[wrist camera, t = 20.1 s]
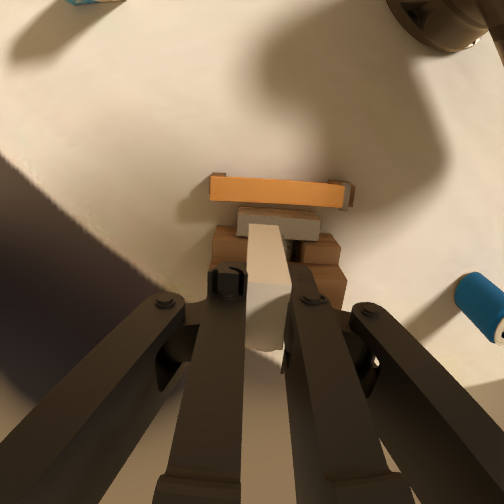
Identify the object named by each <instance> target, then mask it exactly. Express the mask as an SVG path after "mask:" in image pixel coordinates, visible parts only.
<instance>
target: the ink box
mask: <svg viewBox="0 0 504 504" xmlns="http://www.w3.org/2000/svg"><path fill="white" fill-rule="evenodd" d="M66 1H67V2H69V3H71V4H73V5H80V4H87V3H96V2H107V1H119V0H66Z"/></svg>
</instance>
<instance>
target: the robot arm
mask: <svg viewBox="0 0 504 504" xmlns="http://www.w3.org/2000/svg"><path fill="white" fill-rule="evenodd" d="M387 3H388V5H389V7H390V9H391V11H392V13H393V14H394V16H395V17H396V19H397V20H398V21H399V23H400V24H401V25H402V26H403V27H404V28H405V29H406V30H407V31H408V32H409V33H410V34H411V35H412V36H413V37H415V38H416V39H417V40H419V41H420V42H421V43H423V44H425V45H427V46H428V47H431V48H433V49H435V50H438V51H442V52H458V51H461V50H465V49H468V48H470V47H472V46H474V45H475V44H476V43H477V42H478V41H479V40H480V38H481V36H482V35H484V34H485V33H486V32H487V31H488V30H489V32H490V34H491V36H492V39H493V41H494V44H495V46H496V49H497V51H498V53H499V56H500V58H501V61H502V64H503V66H504V0H387ZM283 343H284V344H285V349H284V355H283V361H282V367H281V374H283V373H285V382H286V392H287V402H288V412H289V422H290V434H291V444H292V455H293V466H294V477H295V489H296V501H297V504H415V501H414V498H413V495H412V492H411V488H412V490H413V491H414V493H415V494H416V496H417V498H418V499H419V501H420V502H421V504H504V432H503V430H502V429H501V428H500V427H499V426H498V425H497V424H496V423H495V421H494V420H493V419H492V418H491V417H490V416H489V415H488V414H487V413H486V412H485V411H484V410H483V408H482V407H481V406H480V405H479V404H478V403H477V402H476V401H475V400H474V399H473V398H472V396H471V395H470V394H469V393H468V392H467V391H466V390H465V389H464V388H463V387H462V386H461V385H460V384H459V383H458V382H457V381H456V380H455V379H454V377H453V376H452V375H451V374H450V373H449V372H448V371H447V370H446V369H445V368H444V367H443V366H442V365H441V364H440V363H439V362H438V361H437V360H436V359H435V358H434V357H433V356H432V355H431V354H430V353H429V352H428V351H427V350H426V349H425V348H424V347H423V346H422V345H421V344H420V343H419V342H418V341H417V340H416V339H415V338H414V337H413V336H412V335H411V334H410V333H409V332H408V331H407V330H406V329H405V328H404V327H403V326H402V325H401V324H400V323H399V322H398V321H397V320H396V319H395V318H394V317H393V316H392V315H391V314H390V313H389V312H388V311H387V310H385V309H384V308H383V307H381V306H379V305H377V304H375V303H371V302H360V303H357V304H355V305H354V306H353V307H352V311H351V312H346V311H341V310H338V309H335V308H332V305H331V303H330V300H329V299H328V298H327V297H326V296H324V295H323V294H321V293H319V290H318V287H317V285H316V282H315V279H314V277H313V274H312V271H311V270H310V269H309V268H308V267H306V266H305V265H295V264H287V261H286V257H285V252H284V248H283V244H282V239H281V235H280V231H279V226H278V225H264V224H249V232H248V247H247V262H234V261H223V262H222V263H220V264H219V265H218V266H215V267H213V268H211V269H210V270H209V271H208V290H207V298H206V299H205V300H203V301H200V302H196V303H189V304H185V301H184V298H183V297H182V296H180V295H179V294H176V293H171V292H159V293H156V294H153V295H151V296H149V297H148V298H147V299H146V300H145V301H144V302H142V303H141V304H140V305H139V306H138V307H137V308H136V309H135V310H134V311H133V312H132V313H131V314H129V316H127V317H126V318H125V319H124V320H123V321H122V322H121V323H120V324H119V325H118V326H117V327H116V328H115V329H114V330H113V331H111V332H110V333H109V334H108V335H107V336H106V337H105V338H104V339H103V340H102V341H101V342H100V343H99V344H98V345H97V346H96V347H95V348H94V349H93V350H92V351H91V352H90V353H89V354H88V355H87V356H86V357H84V358H83V360H81V361H80V363H78V364H77V365H76V366H75V367H74V368H73V369H72V370H71V371H70V372H69V373H68V374H67V375H66V376H65V377H64V378H63V379H62V380H61V381H60V383H58V384H57V385H56V386H55V387H54V388H53V389H52V390H51V391H50V392H49V393H48V394H47V395H46V396H45V397H44V398H43V399H42V400H41V401H40V402H39V403H38V404H37V405H36V406H35V407H34V409H32V411H30V413H29V414H28V415H27V416H26V417H25V418H24V419H23V420H22V421H21V422H20V423H19V424H18V425H17V426H16V427H15V428H14V429H13V430H12V431H11V432H10V433H9V434H8V436H7V437H6V438H5V439H4V440H3V441H2V442H1V443H0V504H98V503H99V502H100V500H101V499H102V497H103V496H104V494H105V493H106V491H107V490H108V488H109V486H110V485H111V483H112V482H113V480H114V479H115V477H116V475H117V474H118V473H119V471H120V470H121V468H122V467H123V465H124V464H125V462H126V461H127V459H128V457H129V456H130V454H131V453H132V451H133V450H134V448H135V447H136V445H137V444H138V442H139V441H140V439H141V437H142V436H143V434H144V433H145V431H146V430H147V428H148V427H149V425H150V424H151V422H152V421H153V419H154V417H155V416H156V414H157V413H158V411H159V410H160V408H161V406H162V405H163V404H164V402H165V400H166V399H167V397H168V396H169V394H170V393H171V391H172V389H173V388H174V386H175V385H176V383H177V382H178V380H179V379H180V377H181V375H182V374H183V372H184V371H185V369H186V367H187V365H188V362H189V361H191V363H190V367H189V371H188V375H187V380H186V384H185V388H184V392H183V397H182V401H181V406H180V410H179V414H178V419H177V423H176V428H175V433H174V437H173V442H172V447H171V451H170V456H169V461H168V465H167V469H166V472H165V474H163V475H160V477H159V479H158V481H157V484H156V487H155V491H154V496H153V501H152V504H241V503H240V502H241V483H240V472H241V442H242V413H243V412H242V411H243V383H244V356H245V355H244V353H245V348H253V349H274V350H282V349H283ZM375 357H377V359H378V361H379V363H380V364H379V366H377V365H376V364H375V363H374V360H375ZM379 438H380V440H381V441H382V443H383V445H384V446H385V448H386V449H387V451H388V452H389V454H390V455H391V457H392V459H393V460H394V462H395V463H396V465H397V466H398V468H399V470H400V471H401V473H400V472H391V470H389V468H388V466H387V463H386V459H385V456H384V453H383V450H382V447H381V444H380V440H379ZM410 487H411V488H410Z"/></svg>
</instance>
